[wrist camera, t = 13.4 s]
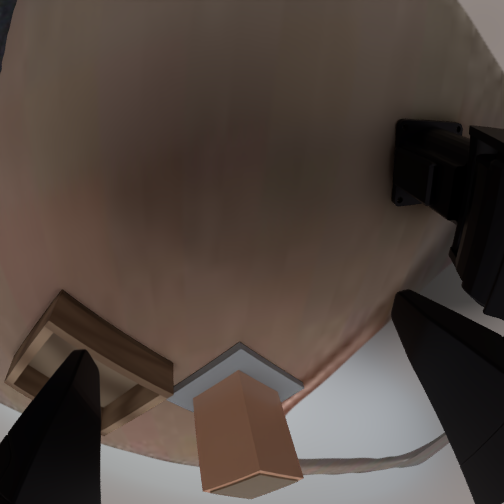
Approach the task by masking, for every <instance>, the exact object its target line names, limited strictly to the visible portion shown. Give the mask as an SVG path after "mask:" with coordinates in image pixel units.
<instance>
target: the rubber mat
mask: <svg viewBox="0 0 504 504" xmlns="http://www.w3.org/2000/svg"><path fill="white" fill-rule="evenodd" d="M237 370H240V371H241V372H243V373H245V374H247V375H248V376H250V377H252V378H254V379H255V380H257V381H259V382H261V383H263V384H264V385H266V386H268V387H270V388H272V389H274V390H275V391H277V392H278V395H279V398H280V401H281V402H282V401H284V400H286V399H287V398H289V397H291V396H292V395H294V394H296V393H297V392H299V391H301V390H302V389H304V386H303V383H302V382H301V381H299V380H298V379H296V378H294V377H293V376H291V375H290V374H288V373H286V372H285V371H283V370H282V369H280V368H279V367H277V366H275V365H274V364H272V363H271V362H269V361H268V360H266V359H265V358H263V357H261V356H260V355H258V354H257V353H255V352H254V351H252V350H251V349H249V348H248V347H246V346H245V345H243V344H242V343H240V342H239V343H237V344H236V345H235V346H233V347H232V348H230V349H229V350H227V351H226V352H225V353H223V354H222V355H220V356H219V357H217V358H216V359H214V360H213V361H212V362H210V363H209V364H207V365H206V366H204V367H203V368H201V369H200V370H198V371H197V372H195V373H194V374H192V375H191V376H189V377H188V378H186V379H185V380H183V381H182V382H180V383H179V384H177V385H176V386H174V395H173V396H171V397H169V398H168V399H166V400H168V401H170V402H172V403H174V404H176V405H178V406H181V407H183V408H185V409H187V410H189V411H192V412H194V406H193V398H194V397H196V396H198V395H199V394H201V393H203V392H204V391H206V390H207V389H209V388H211V387H212V386H214V385H215V384H217V383H219V382H220V381H222V380H223V379H225V378H227V377H228V376H230V375H231V374H233V373H234V372H236V371H237Z"/></svg>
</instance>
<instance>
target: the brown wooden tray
mask: <svg viewBox="0 0 504 504" xmlns="http://www.w3.org/2000/svg"><path fill="white" fill-rule="evenodd" d="M78 349H86V350H87V351H88V352H89V353H90V355H91V357H92V358H93V360H94V362H95V363H96V365H97V367H98V369H99V373H100V401H101V435H103V436H105V435H107V434H109V433H110V432H112V431H114V430H116V429H118V428H119V427H121V426H123V425H124V424H126V423H128V422H130V421H131V420H133V419H135V418H136V417H138V416H140V415H142V414H143V413H145V412H147V411H148V410H150V409H152V408H153V407H155V406H156V405H158V404H160V403H161V402H163V401H165V400H166V399H168V398H169V397H171V396H173V395H174V385H173V363H172V362H170V361H168V360H167V359H165V358H163V357H162V356H160V355H158V354H157V353H155V352H153V351H152V350H150V349H148V348H147V347H145V346H143V345H142V344H140V343H139V342H137V341H135V340H134V339H132V338H131V337H129V336H128V335H126V334H124V333H123V332H121V331H120V330H118V329H117V328H115V327H114V326H112V325H111V324H109V323H108V322H106V321H105V320H103V319H102V318H100V317H99V316H98V315H96V314H95V313H93V312H92V311H90V310H89V309H88V308H86V307H85V306H83V305H82V304H81V303H79V302H78V301H77V300H75V299H74V298H72V297H71V296H70V295H68V294H67V293H66V292H64V291H63V290H61V292H60V293H59V294H58V296H57V297H56V298H55V299H54V301H53V302H52V303H51V305H50V306H49V307H48V309H47V310H46V311H45V313H44V314H43V315H42V317H41V318H40V319H39V321H38V322H37V324H36V325H35V326H34V328H33V329H32V331H31V332H30V333H29V335H28V336H27V338H26V339H25V341H24V342H23V344H22V345H21V347H20V348H19V349H18V351H17V352H16V354H15V355H14V358H13V360H12V363H11V366H10V368H9V371H8V374H7V376H6V379H5V382H4V383H6V384H7V385H9V386H10V387H12V388H13V389H15V390H17V391H18V392H20V393H22V394H23V395H25V396H26V397H28V398H30V399H32V400H33V399H34V398H35V396H36V395H37V394H38V393H39V391H40V390H41V389H42V387H43V386H44V385H45V384H46V382H47V381H48V380H49V379H50V377H51V376H52V375H53V374H54V373H55V371H56V370H57V369H58V368H59V366H60V365H61V364H62V363H63V362H64V360H65V359H66V358H67V357H68V356H69V354H70V353H71V352H72V351H73V350H78Z"/></svg>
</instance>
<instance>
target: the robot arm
mask: <svg viewBox="0 0 504 504" xmlns="http://www.w3.org/2000/svg"><path fill="white" fill-rule="evenodd" d="M404 124H405V128H404V129H403V125H404ZM456 129H457V130H456ZM462 131H463V128H462V125H461V124H459V123H456V122H447V121H432V120H412V119H401V120H399V121H398V123H397V128H396V149H395V159H394V173H393V192H392V202H393V203H394V204H395V205H396V206H406V205H414V204H421V203H423V204H424V205H426V206H429V207H430V208H431V209H433V210H434V211H436V212H437V213H439V214H440V215H441V216H443V217H444V218H445V219H447V220H449V221H452V222H453V223H455V224H456V225H457V227H456V231H455V236H454V240H453V244H452V247H450V251H449V257H450V258H451V260H452V262H453V264H454V266H455V267H456V270H457V272H458V274H459V276H460V278H461V280H462V281H463V282H462V288H463V289H464V291H465V292H466V293H467V294H469V295H470V297H472V298H473V299H474V300H475V301H476V302H477V303H478V304H480V305H481V306H483V307H484V309H483V313H484V314H486V315H489V316H492V317H496V318H500V319H502V320H504V129H498V128H490V127H482V126H472V125H470V127H469V135H470V139H469V138H466V137H464V136H462ZM399 197H400V199H399V201H397V200H398V198H399ZM391 317H392V321H393V323H394V325H395V328H396V330H397V332H398V335H399V337H400V340H401V342H402V345H403V347H404V349H405V352H406V354H407V357H408V359H409V361H410V363H411V365H412V367H413V369H414V371H415V372H416V374H417V376H418V378H419V380H420V382H421V384H422V386H423V388H424V390H425V392H426V394H427V396H428V398H429V400H430V402H431V404H432V406H433V408H434V410H435V412H436V414H437V416H438V418H439V420H440V423H441V425H442V427H443V429H444V431H445V433H446V435H447V438H448V440H449V442H450V444H451V446H452V449H453V451H454V453H455V455H456V458H457V460H458V462H459V465H460V468H461V470H462V472H463V474H464V477H465V479H466V482H467V484H468V487H469V489H470V492H471V494H472V497H473V500H474V502H475V504H502V503H503V502H504V337H502V336H501V335H499V334H498V333H496V332H494V331H492V330H490V329H488V328H486V327H484V326H482V325H480V324H478V323H476V322H474V321H472V320H470V319H468V318H466V317H464V316H463V315H461V314H459V313H457V312H455V311H453V310H450V309H448V308H447V307H445V306H443V305H440V304H438V303H436V302H434V301H432V300H430V299H428V298H426V297H424V296H422V295H420V294H418V293H416V292H414V291H412V290H409V289H406V290H403V291H399V292H397V293H396V295H395V299H394V303H393V307H392V312H391ZM100 446H101V401H100V373H99V369H98V367H97V365H96V363H95V362H94V360H93V358H92V357H91V355H90V353H89V352H88V351H87V350H86V349H78V350H73V351H72V352H71V353H70V354H69V356H68V357H67V358H66V359H65V360H64V362H63V363H62V364H61V365H60V366H59V368H58V369H57V370H56V371H55V373H54V374H53V375H52V376H51V377H50V379H49V380H48V381H47V382H46V384H45V385H44V386H43V387H42V389H41V390H40V391H39V393H38V394H37V395H36V396H35V398H34V399H33V400H32V401H31V403H30V404H29V405H28V407H27V408H26V409H25V411H24V412H23V413H22V415H21V416H20V417H19V419H18V420H17V421H16V423H15V424H14V425H13V427H12V428H11V429H10V431H9V432H8V435H6V436H5V437H4V439H3V440H2V442H1V443H0V504H101V492H100Z"/></svg>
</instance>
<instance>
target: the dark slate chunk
mask: <svg viewBox="0 0 504 504" xmlns="http://www.w3.org/2000/svg"><path fill="white" fill-rule="evenodd" d="M16 2H17V0H0V72H1V69H2V59H3V55H4V51H5V45H6V39H7V34H8V31H9V28H10V23H11V19H12V14H13V10H14V8H15V5H16Z"/></svg>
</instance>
